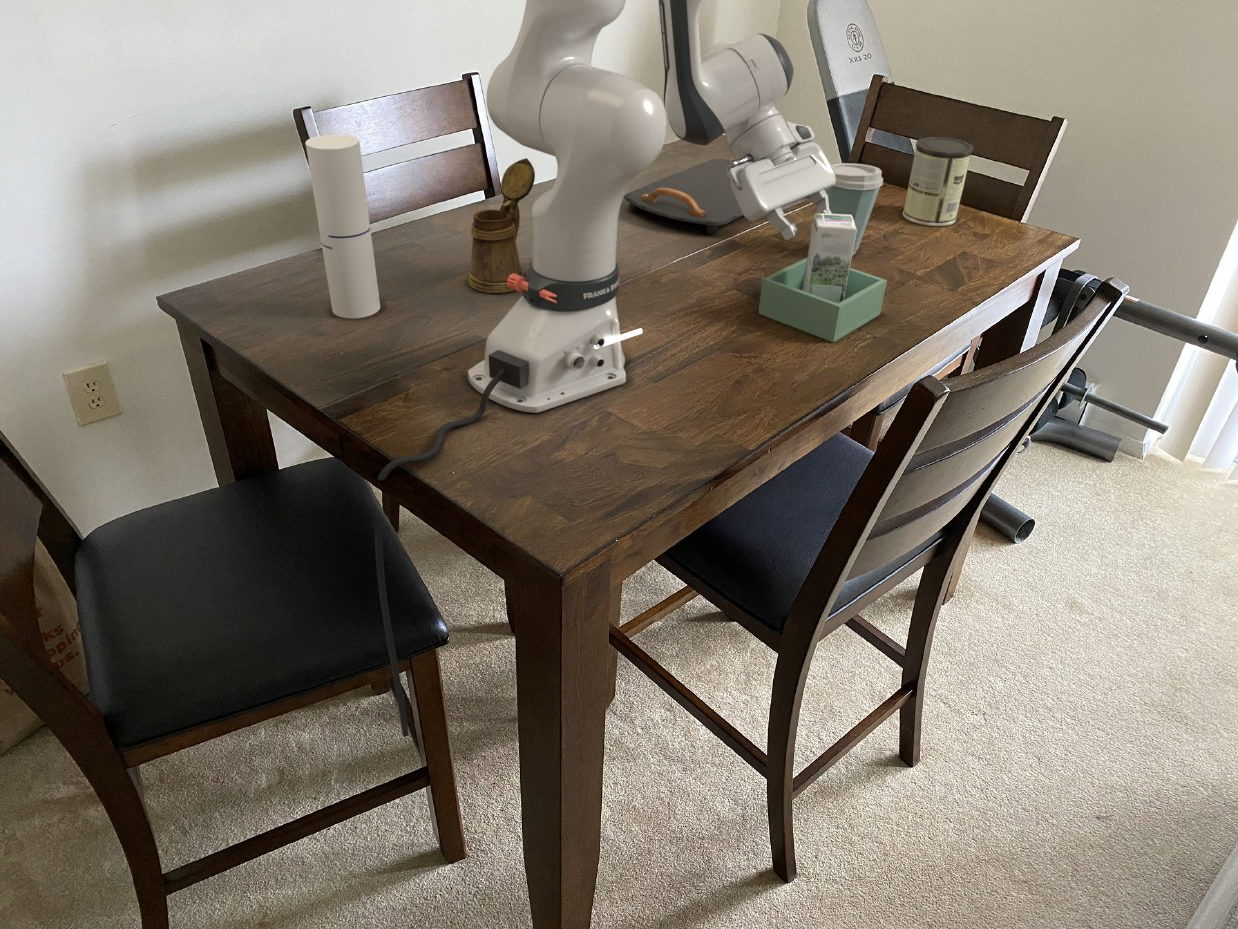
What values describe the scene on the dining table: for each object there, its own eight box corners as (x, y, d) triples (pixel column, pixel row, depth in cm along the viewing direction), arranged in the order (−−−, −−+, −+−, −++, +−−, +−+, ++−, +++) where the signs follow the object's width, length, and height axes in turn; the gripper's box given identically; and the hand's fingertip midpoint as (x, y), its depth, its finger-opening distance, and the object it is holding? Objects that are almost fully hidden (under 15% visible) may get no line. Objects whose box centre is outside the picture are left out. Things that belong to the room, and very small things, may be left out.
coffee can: (911, 204, 189) (926, 133, 181) (962, 215, 184) (980, 142, 176) (894, 219, 182) (909, 145, 174) (947, 230, 177) (964, 155, 169)
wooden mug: (551, 271, 156) (550, 163, 146) (499, 298, 147) (494, 185, 137) (510, 258, 160) (506, 152, 150) (457, 284, 151) (448, 173, 141)
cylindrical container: (368, 320, 139) (345, 151, 125) (323, 315, 140) (296, 146, 126) (387, 301, 145) (367, 136, 131) (344, 295, 146) (320, 132, 132)
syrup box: (836, 302, 148) (852, 212, 139) (841, 318, 143) (857, 226, 134) (800, 300, 148) (813, 210, 140) (803, 316, 143) (817, 224, 135)
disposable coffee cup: (796, 248, 168) (808, 164, 159) (834, 235, 174) (847, 153, 165) (843, 267, 161) (859, 180, 153) (881, 252, 167) (898, 168, 159)
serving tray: (711, 243, 168) (714, 210, 165) (610, 213, 180) (611, 181, 176) (813, 191, 194) (818, 161, 190) (720, 167, 205) (722, 138, 202)
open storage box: (833, 342, 138) (839, 306, 134) (758, 313, 145) (762, 278, 142) (880, 314, 146) (887, 280, 143) (806, 288, 153) (811, 255, 150)
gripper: (736, 151, 131) (785, 236, 132) (817, 125, 144) (861, 203, 144) (709, 175, 136) (756, 257, 137) (789, 148, 149) (831, 223, 149)
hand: (810, 229), depth 140 cm, fingers open, 8 cm apart
